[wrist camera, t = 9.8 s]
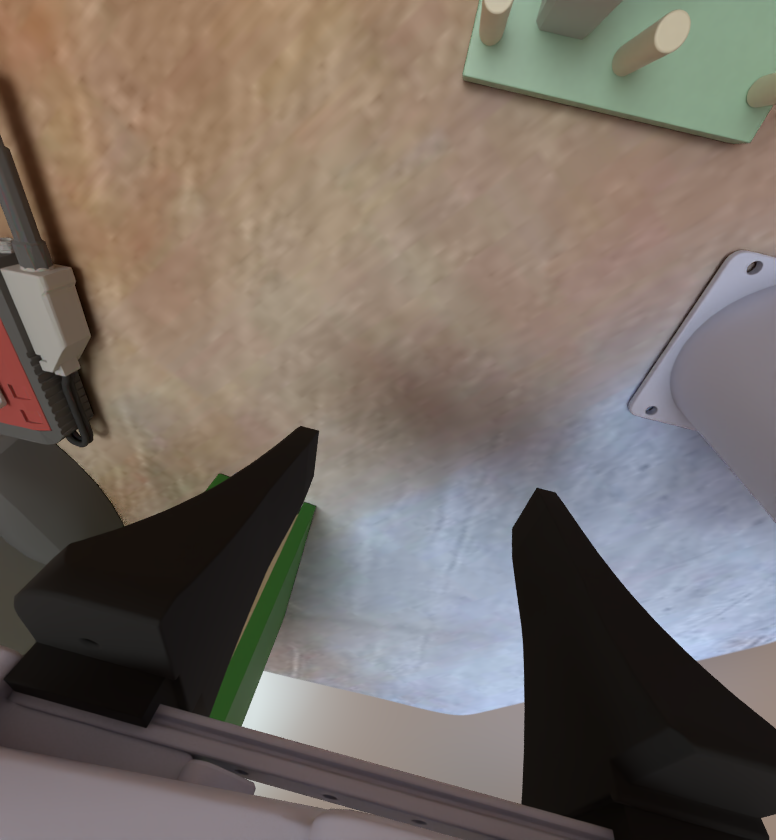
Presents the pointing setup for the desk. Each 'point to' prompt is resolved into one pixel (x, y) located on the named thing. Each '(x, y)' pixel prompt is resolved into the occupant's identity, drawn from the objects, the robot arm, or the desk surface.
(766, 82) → the dish rack
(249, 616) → the hardback book
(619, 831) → the robot arm
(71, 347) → the walkie-talkie
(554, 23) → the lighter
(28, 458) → the alarm clock
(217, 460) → the desk surface
